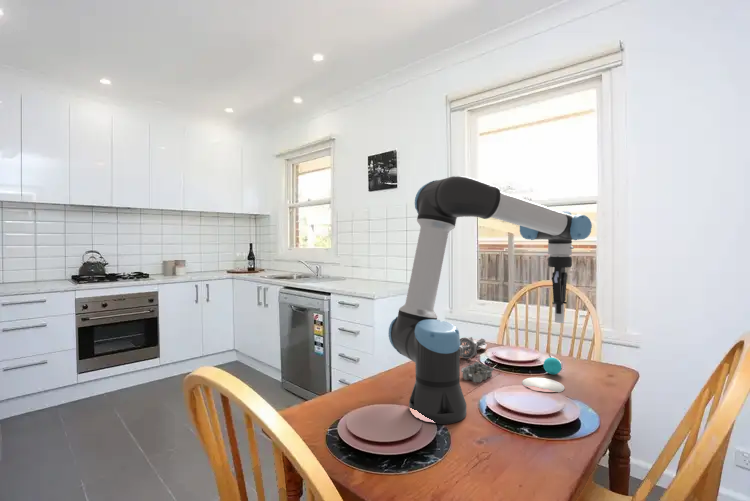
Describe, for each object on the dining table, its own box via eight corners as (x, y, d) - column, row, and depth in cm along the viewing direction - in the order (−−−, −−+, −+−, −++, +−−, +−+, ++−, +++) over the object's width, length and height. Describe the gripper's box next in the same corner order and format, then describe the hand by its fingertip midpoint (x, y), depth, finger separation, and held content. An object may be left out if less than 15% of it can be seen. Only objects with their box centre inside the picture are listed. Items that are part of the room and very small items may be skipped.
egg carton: (478, 385, 121) (477, 372, 121) (458, 378, 127) (458, 366, 127) (495, 376, 128) (495, 364, 128) (476, 370, 134) (476, 359, 134)
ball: (559, 378, 125) (559, 361, 125) (541, 374, 129) (541, 358, 128) (563, 373, 130) (563, 357, 130) (545, 370, 133) (545, 354, 133)
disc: (559, 396, 111) (559, 395, 111) (517, 386, 119) (517, 386, 119) (568, 383, 121) (568, 383, 121) (528, 375, 128) (528, 374, 128)
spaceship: (429, 345, 136) (448, 340, 132) (473, 335, 163) (490, 331, 159) (436, 368, 134) (455, 363, 130) (479, 354, 161) (496, 350, 156)
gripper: (567, 257, 128) (567, 327, 129) (575, 255, 138) (574, 320, 139) (543, 256, 132) (543, 324, 133) (552, 254, 143) (552, 317, 144)
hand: (559, 322), depth 136 cm, fingers closed
